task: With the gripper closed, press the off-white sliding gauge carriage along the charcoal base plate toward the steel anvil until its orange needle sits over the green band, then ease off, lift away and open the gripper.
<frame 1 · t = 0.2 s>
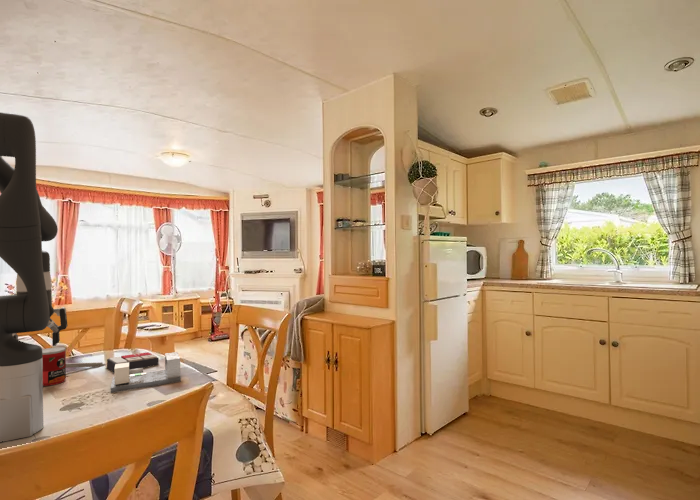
hand: (35, 347, 108), 18 cm above the table, tool pointing down, fingers open, 8 cm apart
gauge base: (146, 381, 131), on the table
caliper: (74, 372, 146), on the table
canned food: (52, 383, 133), on the table
calculator: (133, 367, 151), on the table
gauge carriage: (129, 370, 130), point 4 cm above the table, slide at 0.0 cm
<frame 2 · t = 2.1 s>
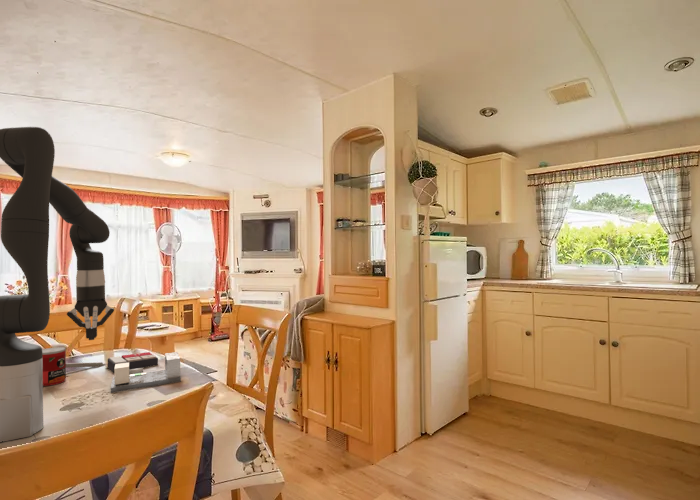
hand: (91, 339, 123), 16 cm above the table, tool pointing down, fingers closed
nothing on the table moved.
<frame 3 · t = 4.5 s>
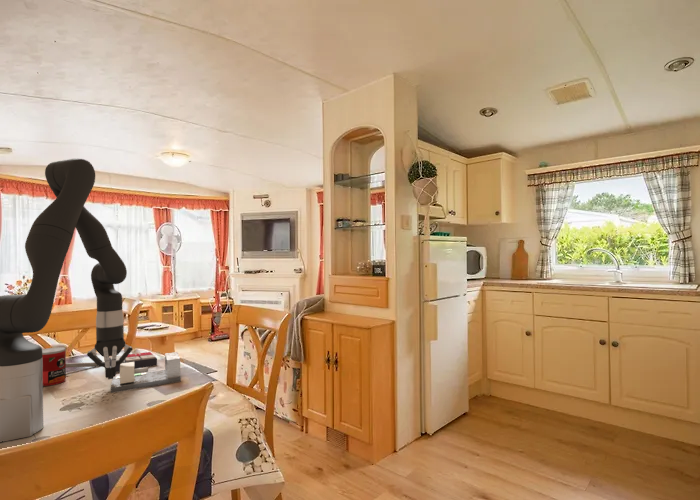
hand: (110, 378, 126), 3 cm above the table, tool pointing down, fingers closed
gauge carriage: (134, 369, 131), point 4 cm above the table, slide at 1.5 cm, touching gripper
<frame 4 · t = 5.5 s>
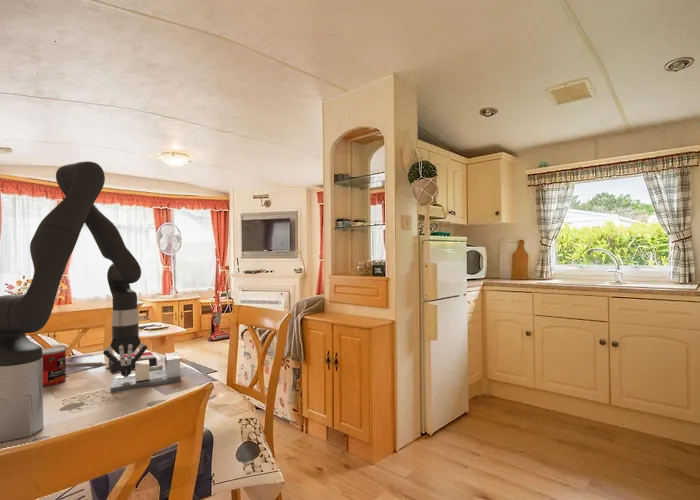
hand: (126, 376, 128), 3 cm above the table, tool pointing down, fingers closed
gauge carriage: (148, 367, 133), point 4 cm above the table, slide at 5.8 cm, touching gripper
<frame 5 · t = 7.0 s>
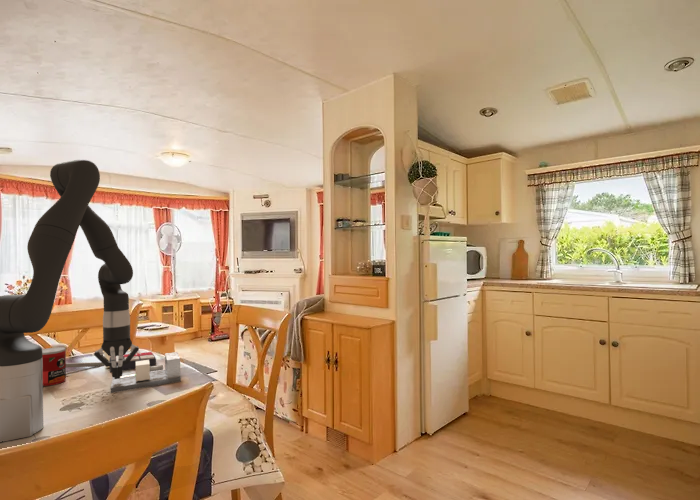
hand: (117, 378, 126), 3 cm above the table, tool pointing down, fingers closed
gauge carriage: (149, 367, 133), point 4 cm above the table, slide at 5.9 cm
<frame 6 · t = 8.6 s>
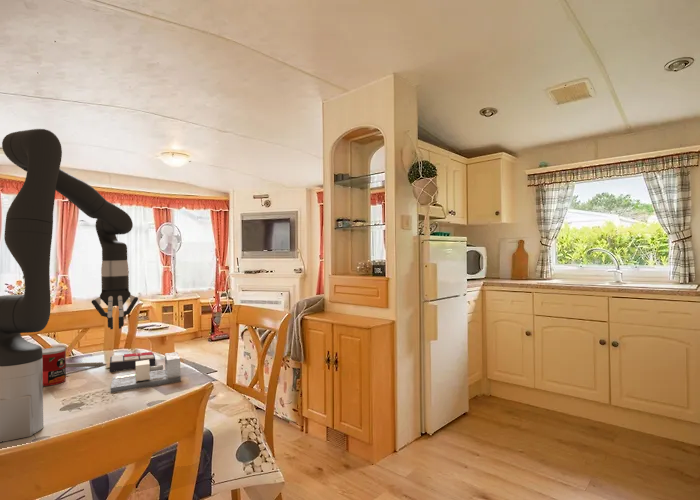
hand: (116, 328, 127), 19 cm above the table, tool pointing down, fingers closed
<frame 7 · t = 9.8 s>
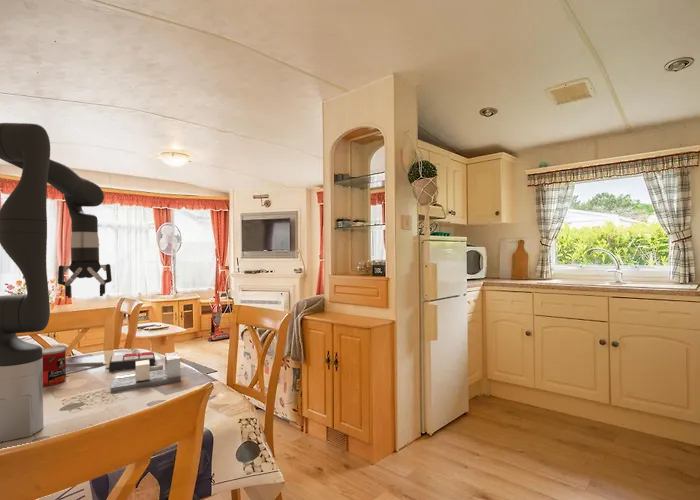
hand: (85, 296, 127), 29 cm above the table, tool pointing down, fingers open, 8 cm apart
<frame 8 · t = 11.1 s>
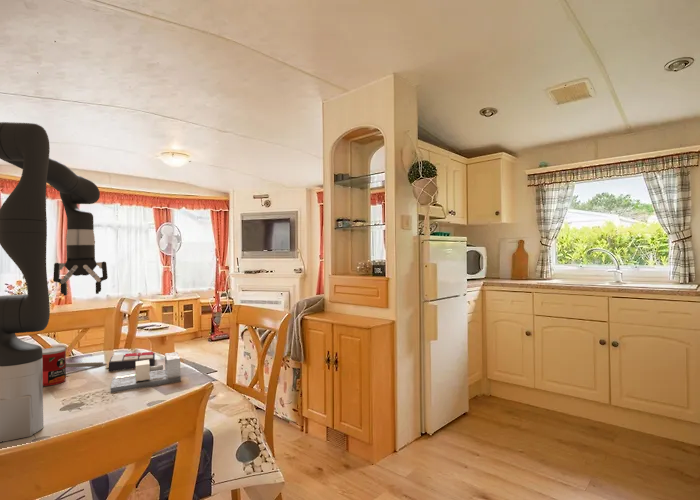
hand: (81, 294, 126), 30 cm above the table, tool pointing down, fingers open, 8 cm apart
at the end: gauge carriage slide at 5.9 cm; calculator moved 2.0 cm from its start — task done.
